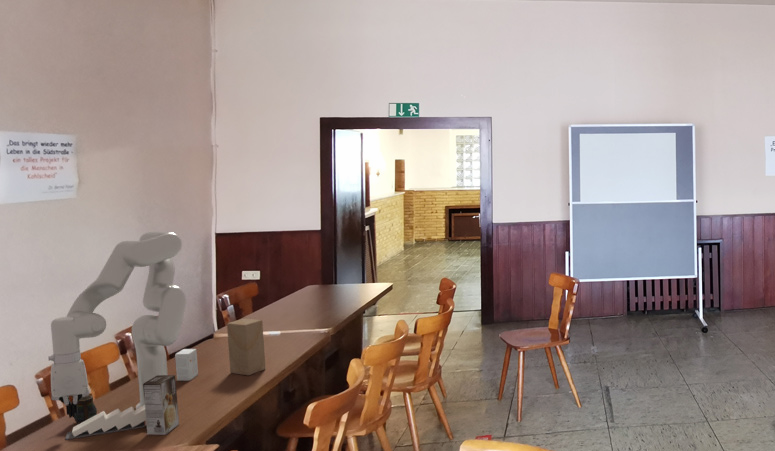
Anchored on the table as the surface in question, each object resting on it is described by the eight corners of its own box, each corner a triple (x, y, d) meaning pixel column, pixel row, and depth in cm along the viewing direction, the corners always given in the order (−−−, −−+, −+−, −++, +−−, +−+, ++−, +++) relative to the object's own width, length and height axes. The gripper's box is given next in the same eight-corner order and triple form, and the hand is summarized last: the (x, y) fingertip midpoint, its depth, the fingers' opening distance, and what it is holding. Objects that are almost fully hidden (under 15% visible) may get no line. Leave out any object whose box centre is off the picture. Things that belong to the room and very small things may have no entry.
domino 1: (73, 427, 225) (103, 410, 227) (75, 431, 225) (106, 414, 228) (71, 432, 220) (103, 415, 223) (74, 436, 220) (105, 419, 223)
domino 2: (88, 424, 226) (118, 408, 229) (90, 429, 226) (120, 412, 229) (87, 430, 221) (118, 413, 224) (89, 434, 222) (120, 417, 224)
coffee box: (161, 424, 229) (157, 374, 227) (179, 424, 228) (176, 374, 226) (146, 434, 220) (142, 383, 218) (166, 435, 219) (161, 383, 217)
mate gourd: (100, 422, 234) (96, 392, 233) (75, 428, 230) (71, 397, 229) (95, 416, 240) (92, 387, 239) (71, 421, 236) (68, 392, 235)
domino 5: (129, 418, 230) (159, 402, 233) (132, 422, 231) (161, 406, 233) (129, 423, 226) (159, 406, 228) (132, 427, 226) (162, 410, 229)
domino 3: (102, 422, 228) (131, 406, 230) (104, 427, 228) (134, 410, 231) (101, 427, 223) (131, 410, 226) (104, 432, 223) (134, 415, 226)
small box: (185, 374, 285) (183, 348, 285) (198, 374, 285) (196, 348, 284) (176, 380, 278) (174, 354, 277) (190, 380, 277) (188, 353, 276)
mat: (67, 433, 225) (67, 432, 225) (144, 421, 232) (144, 420, 232) (65, 439, 219) (65, 438, 219) (145, 427, 227) (145, 426, 227)
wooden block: (248, 375, 279) (244, 325, 278) (229, 373, 284) (226, 323, 283) (266, 369, 287) (262, 319, 286) (247, 366, 293) (244, 318, 291)
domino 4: (116, 420, 229) (145, 404, 232) (118, 424, 229) (147, 408, 232) (115, 425, 224) (145, 408, 227) (118, 429, 224) (148, 413, 227)
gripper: (39, 364, 215) (44, 424, 216) (93, 357, 220) (98, 415, 221) (41, 358, 222) (47, 416, 223) (94, 351, 227) (99, 408, 228)
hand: (72, 416), depth 222 cm, fingers closed
